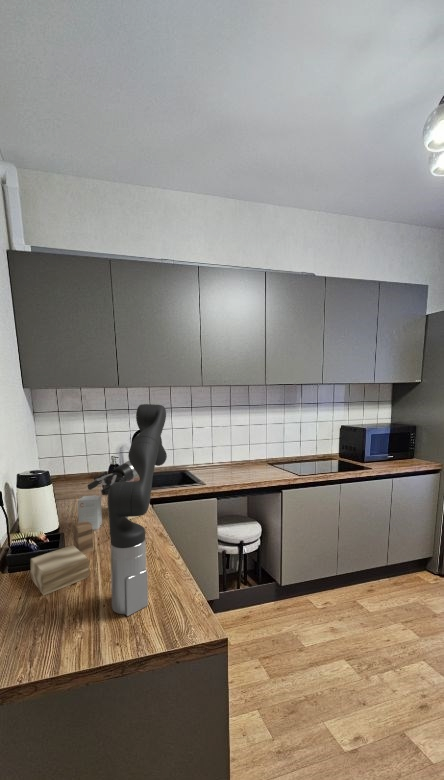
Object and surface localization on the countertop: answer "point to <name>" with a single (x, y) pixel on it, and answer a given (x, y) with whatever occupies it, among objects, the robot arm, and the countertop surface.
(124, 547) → the robot arm
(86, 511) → the small box
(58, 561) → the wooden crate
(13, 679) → the countertop surface
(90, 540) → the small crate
